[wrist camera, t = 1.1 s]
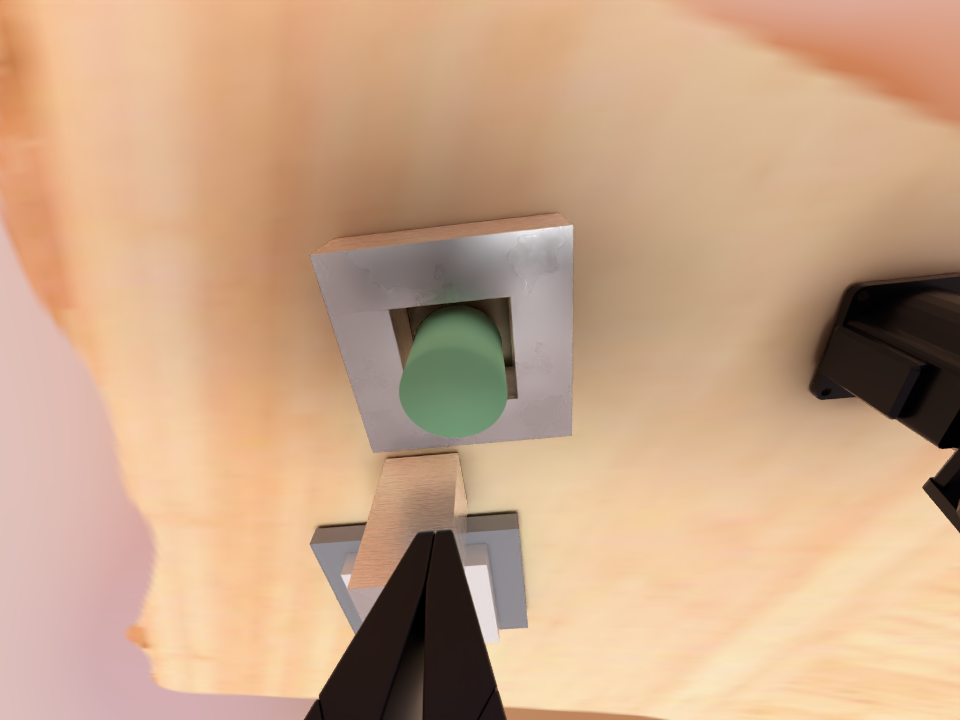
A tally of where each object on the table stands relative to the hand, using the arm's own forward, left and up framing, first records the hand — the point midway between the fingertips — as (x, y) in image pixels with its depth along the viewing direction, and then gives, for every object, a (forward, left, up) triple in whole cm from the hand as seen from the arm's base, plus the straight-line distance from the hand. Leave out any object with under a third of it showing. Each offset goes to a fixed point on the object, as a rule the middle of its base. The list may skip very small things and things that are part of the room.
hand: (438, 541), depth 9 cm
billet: (+4, +10, -12) cm, 16 cm away
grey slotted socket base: (+5, +20, -12) cm, 24 cm away
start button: (0, 0, -10) cm, 10 cm away
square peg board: (0, 0, -12) cm, 12 cm away
